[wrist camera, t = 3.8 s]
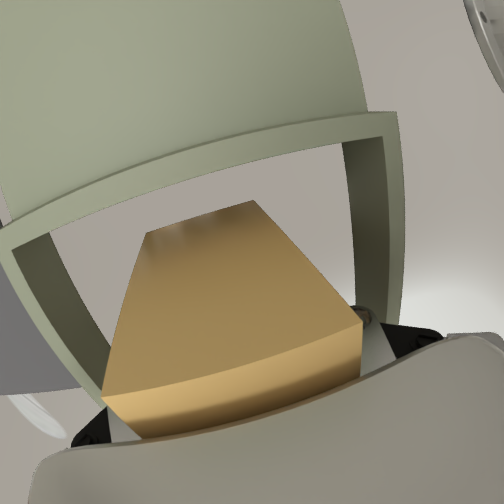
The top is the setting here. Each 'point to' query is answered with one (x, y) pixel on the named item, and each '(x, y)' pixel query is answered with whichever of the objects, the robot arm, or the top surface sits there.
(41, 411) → the top surface
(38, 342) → the rubber mat
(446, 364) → the robot arm
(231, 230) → the block
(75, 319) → the equipment case
